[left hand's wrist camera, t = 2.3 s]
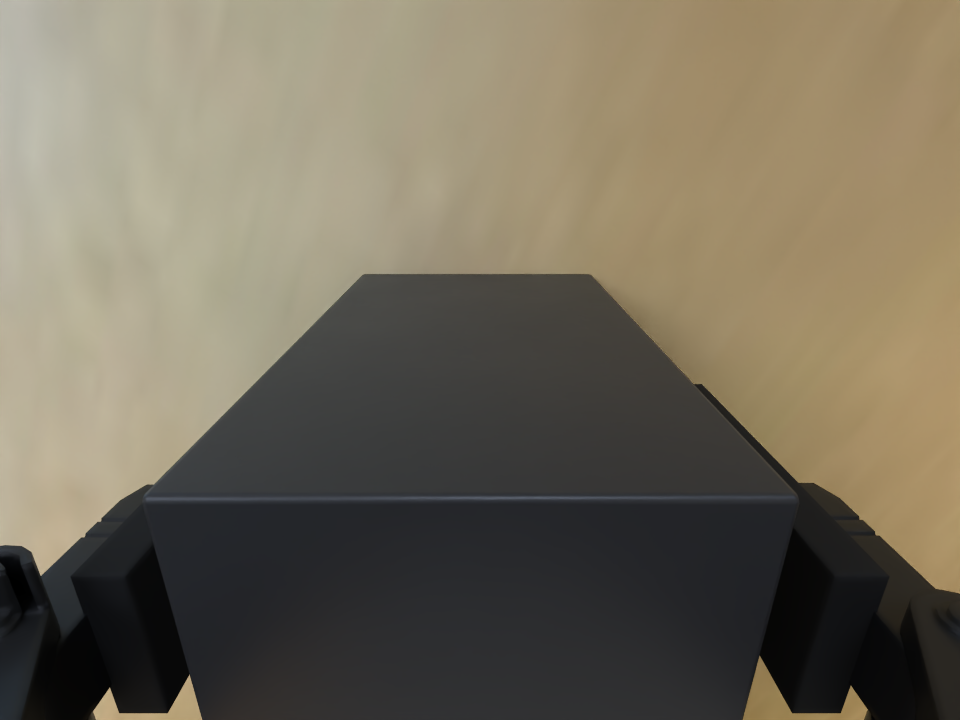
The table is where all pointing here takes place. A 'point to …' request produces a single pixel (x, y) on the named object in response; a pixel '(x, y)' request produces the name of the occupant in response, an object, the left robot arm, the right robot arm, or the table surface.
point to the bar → (472, 519)
